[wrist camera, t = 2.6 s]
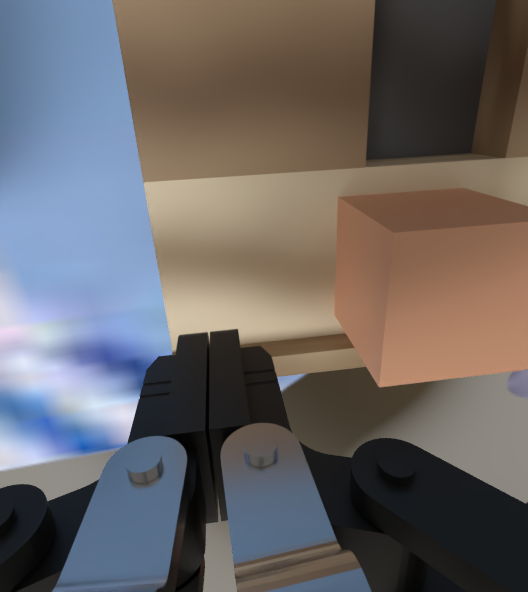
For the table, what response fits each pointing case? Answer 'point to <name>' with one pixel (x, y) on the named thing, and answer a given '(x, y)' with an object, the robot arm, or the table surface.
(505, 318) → the block
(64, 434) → the table surface
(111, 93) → the table surface
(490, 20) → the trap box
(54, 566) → the robot arm
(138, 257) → the table surface
